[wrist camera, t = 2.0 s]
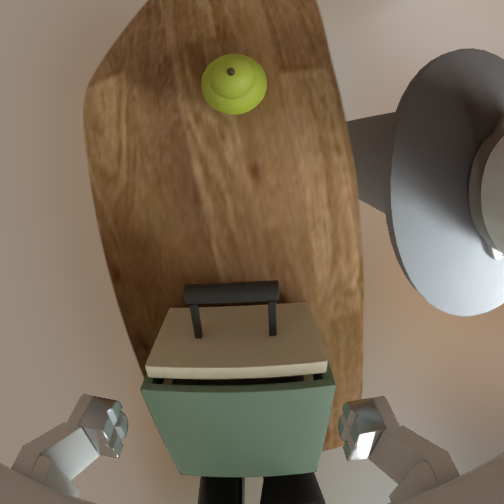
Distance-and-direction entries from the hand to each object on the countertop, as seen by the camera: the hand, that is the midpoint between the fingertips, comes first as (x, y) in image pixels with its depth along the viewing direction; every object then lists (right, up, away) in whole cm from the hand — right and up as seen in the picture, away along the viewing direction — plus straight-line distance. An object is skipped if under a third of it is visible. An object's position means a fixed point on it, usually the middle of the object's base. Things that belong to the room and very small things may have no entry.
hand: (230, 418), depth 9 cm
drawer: (0, -3, +20) cm, 21 cm away
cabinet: (0, -7, +23) cm, 24 cm away
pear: (-1, +19, +13) cm, 23 cm away
